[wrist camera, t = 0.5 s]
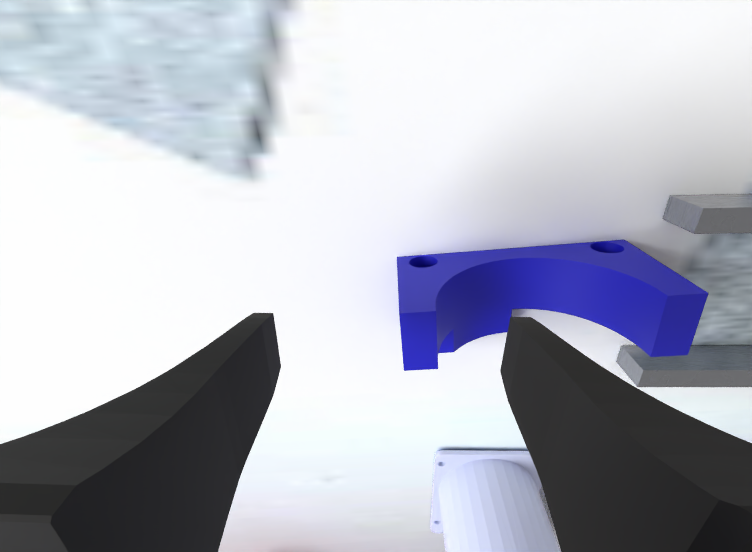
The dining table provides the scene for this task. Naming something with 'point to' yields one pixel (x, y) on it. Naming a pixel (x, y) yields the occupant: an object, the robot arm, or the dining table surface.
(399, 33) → the dining table surface
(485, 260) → the blue stepped block
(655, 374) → the rail bracket
